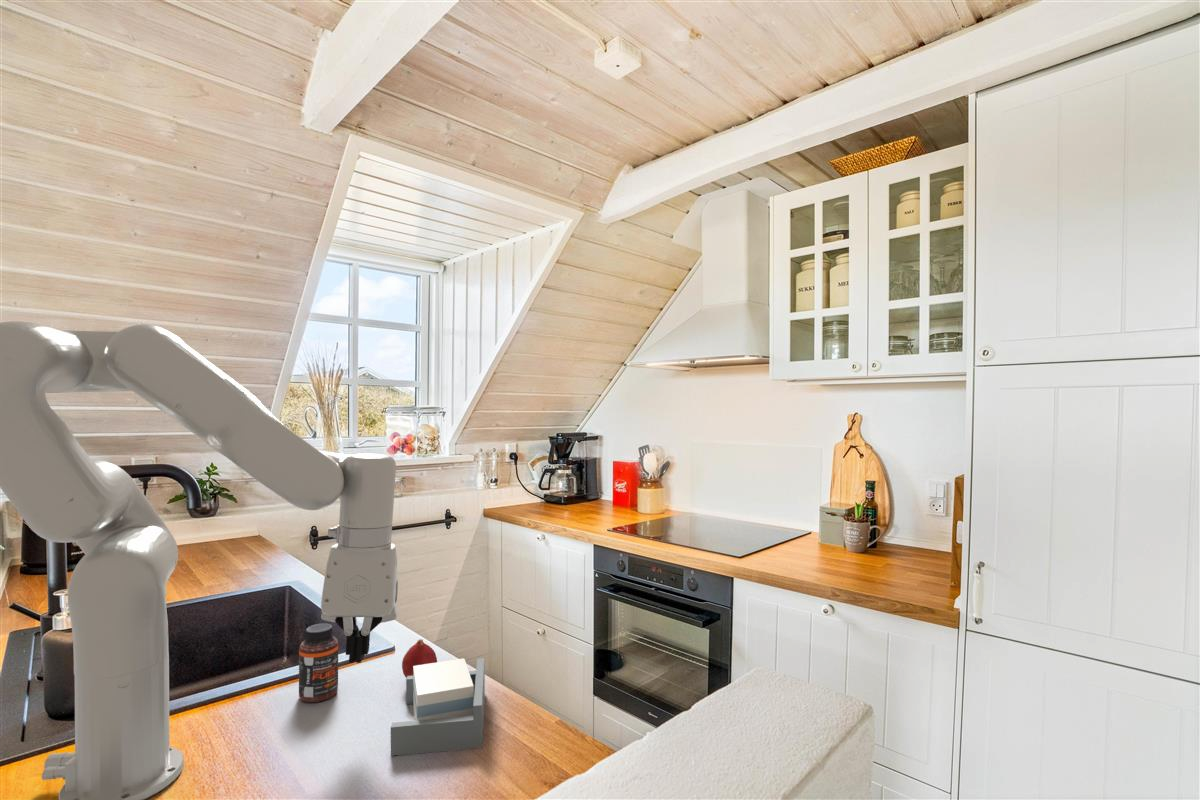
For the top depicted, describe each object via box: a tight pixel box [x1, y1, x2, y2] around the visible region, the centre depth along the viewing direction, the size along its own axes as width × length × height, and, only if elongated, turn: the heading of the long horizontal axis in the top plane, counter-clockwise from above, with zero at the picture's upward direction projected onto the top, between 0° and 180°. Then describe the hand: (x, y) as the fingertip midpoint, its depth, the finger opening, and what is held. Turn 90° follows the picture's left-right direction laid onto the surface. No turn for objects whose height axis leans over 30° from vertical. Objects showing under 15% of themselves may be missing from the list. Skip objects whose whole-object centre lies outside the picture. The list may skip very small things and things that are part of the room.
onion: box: [401, 638, 438, 679], centre depth 104 cm, size 6×6×8 cm
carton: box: [412, 657, 474, 721], centre depth 92 cm, size 8×10×7 cm
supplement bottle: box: [298, 623, 339, 703], centre depth 100 cm, size 6×6×11 cm
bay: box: [390, 657, 486, 757], centre depth 92 cm, size 12×15×6 cm
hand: (356, 659), depth 90 cm, fingers closed
